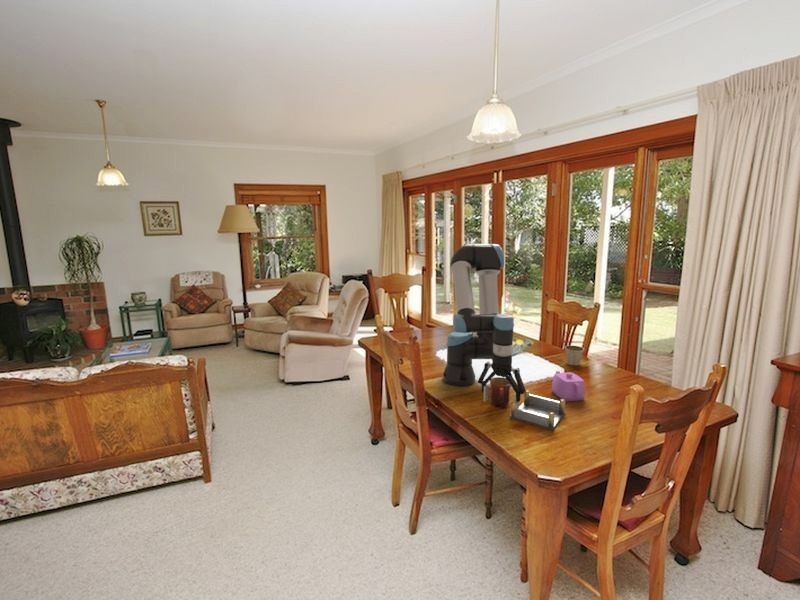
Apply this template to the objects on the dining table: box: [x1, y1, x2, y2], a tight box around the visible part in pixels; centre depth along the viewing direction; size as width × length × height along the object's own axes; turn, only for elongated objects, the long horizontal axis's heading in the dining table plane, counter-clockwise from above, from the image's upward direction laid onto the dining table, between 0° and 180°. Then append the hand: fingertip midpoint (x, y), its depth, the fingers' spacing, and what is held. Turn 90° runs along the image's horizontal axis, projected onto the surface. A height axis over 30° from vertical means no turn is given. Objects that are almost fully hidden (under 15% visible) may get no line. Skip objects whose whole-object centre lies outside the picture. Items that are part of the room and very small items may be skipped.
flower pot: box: [564, 344, 585, 367], centre depth 213 cm, size 9×9×9 cm
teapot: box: [551, 370, 586, 403], centre depth 176 cm, size 18×10×10 cm, turn 8°
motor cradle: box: [509, 389, 566, 431], centre depth 158 cm, size 16×16×6 cm
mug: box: [489, 376, 512, 409], centre depth 166 cm, size 12×9×10 cm
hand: (500, 404), depth 167 cm, fingers open, 12 cm apart
